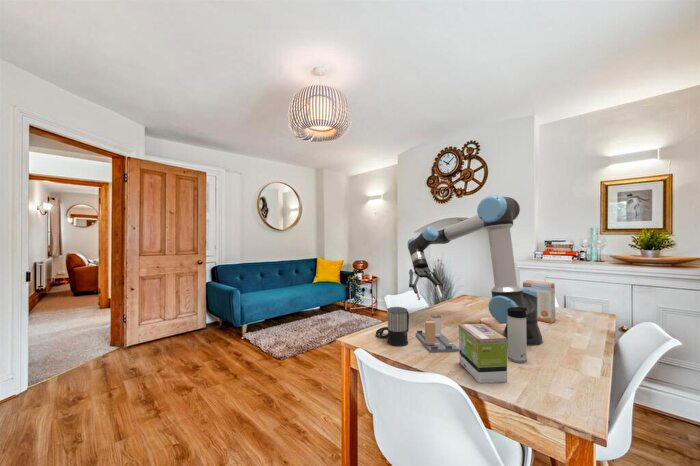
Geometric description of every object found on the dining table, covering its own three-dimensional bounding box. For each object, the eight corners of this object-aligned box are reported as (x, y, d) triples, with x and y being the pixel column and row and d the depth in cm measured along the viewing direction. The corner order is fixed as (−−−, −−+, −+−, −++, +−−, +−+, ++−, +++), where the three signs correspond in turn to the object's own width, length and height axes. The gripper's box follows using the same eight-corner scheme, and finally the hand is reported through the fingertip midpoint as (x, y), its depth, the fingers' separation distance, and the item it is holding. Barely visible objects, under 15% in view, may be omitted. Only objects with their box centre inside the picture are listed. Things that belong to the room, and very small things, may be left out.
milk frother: (406, 347, 123) (406, 312, 123) (370, 343, 128) (370, 309, 128) (410, 336, 137) (410, 304, 137) (377, 333, 142) (377, 302, 142)
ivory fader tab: (431, 334, 134) (430, 314, 134) (438, 334, 135) (438, 314, 135) (433, 336, 131) (433, 316, 131) (441, 336, 132) (441, 316, 132)
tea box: (458, 363, 109) (457, 323, 109) (484, 362, 109) (484, 322, 109) (478, 384, 93) (477, 337, 94) (508, 382, 94) (508, 336, 94)
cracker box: (555, 321, 157) (555, 283, 157) (550, 323, 154) (550, 284, 154) (527, 315, 169) (527, 279, 169) (522, 317, 165) (522, 280, 165)
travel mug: (527, 365, 106) (527, 310, 106) (507, 361, 110) (506, 308, 110) (527, 358, 111) (527, 306, 112) (508, 355, 115) (507, 304, 115)
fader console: (415, 335, 138) (415, 312, 138) (440, 334, 139) (439, 312, 139) (430, 352, 118) (429, 326, 118) (458, 351, 119) (458, 325, 119)
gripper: (438, 266, 159) (450, 302, 144) (397, 267, 158) (405, 303, 142) (441, 257, 154) (455, 293, 138) (400, 258, 152) (408, 294, 137)
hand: (430, 298), depth 140 cm, fingers open, 10 cm apart
